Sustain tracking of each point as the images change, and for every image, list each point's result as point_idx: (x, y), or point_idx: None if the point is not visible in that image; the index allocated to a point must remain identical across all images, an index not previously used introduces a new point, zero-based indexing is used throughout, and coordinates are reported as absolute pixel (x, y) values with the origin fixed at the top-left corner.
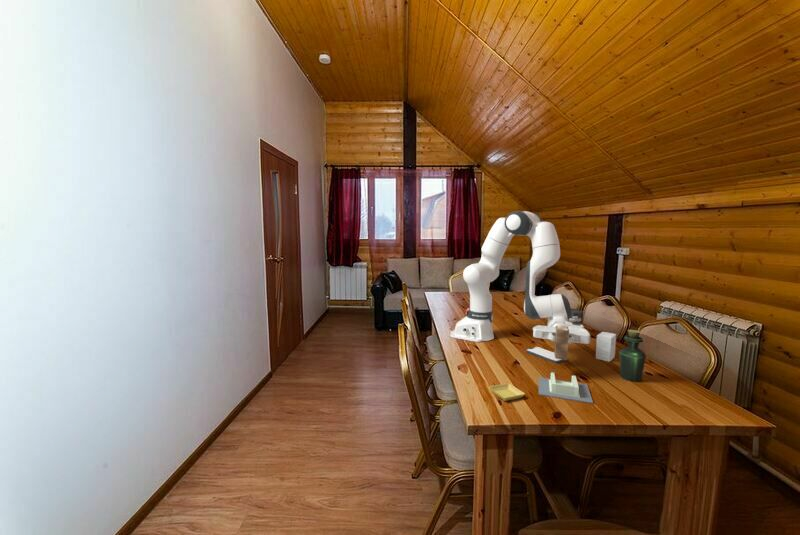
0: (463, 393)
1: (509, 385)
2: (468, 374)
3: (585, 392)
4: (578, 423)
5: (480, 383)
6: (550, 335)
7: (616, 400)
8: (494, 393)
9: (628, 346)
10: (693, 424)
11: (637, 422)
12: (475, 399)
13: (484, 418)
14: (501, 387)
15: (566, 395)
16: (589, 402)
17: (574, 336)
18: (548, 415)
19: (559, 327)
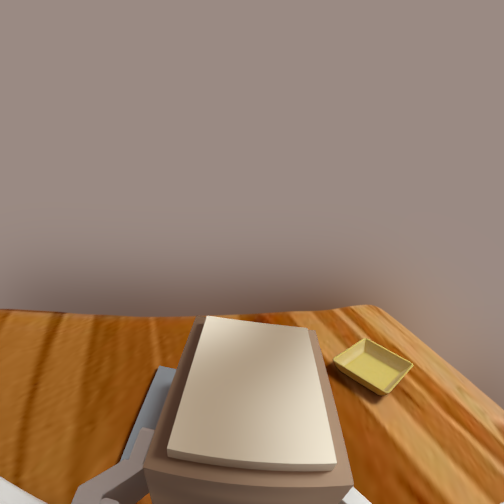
0: (436, 355)
1: (381, 391)
2: (488, 422)
3: (155, 410)
4: (222, 315)
5: (442, 397)
6: (356, 496)
7: (81, 382)
8: (393, 365)
9: None
10: (11, 311)
11: (104, 319)
12: (408, 345)
13: (366, 312)
14: (393, 382)
15: None
16: (168, 368)
17: (79, 486)
18: None
19: (297, 365)
